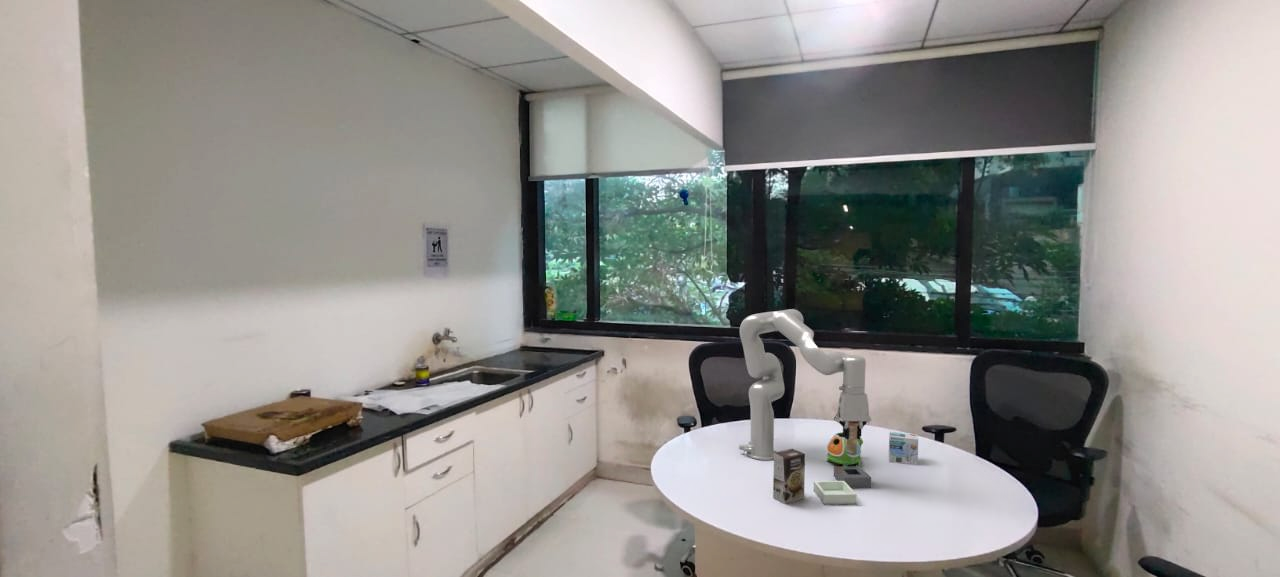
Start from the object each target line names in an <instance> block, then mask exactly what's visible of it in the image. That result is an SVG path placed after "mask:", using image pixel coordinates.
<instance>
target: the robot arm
mask: <svg viewBox="0 0 1280 577" xmlns="http://www.w3.org/2000/svg"><path fill="white" fill-rule="evenodd" d="M771 332H779V333H780V334H782V335H783V336H784V337H786V338H787V339H788V340H789V341H790V342H791V343H793V344H794V345H795V346H796V347H797V348H798V350H799V352H800V354H801V356H802V357H803V359H804V360H805V361H806V363H808V364H809V365H810V366H811V367H812V368H813V369H815V371H817V372H818V373H819V374H822V375H824V376H831V375H834V374H837V373H843V374H842V383H841V386H839V387H838V390H839V391H841V392H840V395H839V399H838V404H837V413H836V414H835V416H834V417H833V420H834V422H836V423H837V424H839V425H840V426H841V427H842V432H843V436H844V437H845V438H846V439H849V429H848V423H849V422H859V425H858V428H857V439H860V437H862V429H864V427H865V426H866V425H867V423H870V422H872V418H871V416H870V408H869V407H870V406H869V399H868V394H867V393H865V392H866V391H865V390H866V388H865V386H866V366H867V365H866V364H867V363H866V358H864V357H863V356H861V355H851V354H847V353H844V352H840V351H834V352H831V353H826V352H825V351H823V350H821V349H820V348H819V347H818V345H816V343H815V341H814V337H815V336H814V335H815V332H814V331H813V329H812V328H810V327H809V326H807V325H806V324H805V323H804V316H803V314H802V313H801V311H799V310H797V309H795V308H792V309H791V308H789V309H783V310H776V311H775V310H774V311H766V312H760V313H755V314H751V315H748V316H747V317H744V319H743V320H742V322H741V324H740V327H739V337H740V341H741V345H742V349H743V354H744V355H743V356H744V359H745V364H746V369H747V372H748V375H749V376H750V377H751V378H754V379H761V378H762V380H759V381H756V382H754V383H752V385H751V386H750V387H749V390H748V399H749V400H748V401H749V406H750V407H749V408H750V441H749V442H748V443H747V444H746V445H745V444H739V446H738V447H739V448H738V450H740V451H741V450H742V451H743V452H746V455H747V456H748V458H751V459H753V460H757V461H758V460H759V461H771V460H774V453H775V452H777V450H775V449H774V446H775V444H774V440H775V438H774V437H775V436H774V435H775V433H774V432H775V419H774V418H775V413H774V409H773V408H774V407H773V406H772V403H773V402H774V401H776V400H779V399H781V398H783V396H784V394H785V383H784V376H783V374H782V373H783V372H782V366H781V364H780V361H779V359H778V357H777V356H776V355H775V354H773V353H771V352H766V351H765V348H764V347H765V345H764V343H763V340H762V339H761V337H760V335H762V334H766V333H771Z"/></svg>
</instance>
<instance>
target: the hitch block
mask: <svg viewBox="0 0 1280 577" xmlns="http://www.w3.org/2000/svg"><path fill="white" fill-rule="evenodd" d="M834 477H835V478H834ZM833 478H834V480H835V481H845V482H846V483H847V484H848V486H849V487H850V488H851V489H872V476H871V475H869V474H868V472H867V471H865V470H864V468H862V467H861V465H860V466H857V465H855V466H854V465H853V466H847V467H842V466H833Z"/></svg>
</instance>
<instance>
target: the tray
mask: <svg viewBox="0 0 1280 577" xmlns="http://www.w3.org/2000/svg"><path fill="white" fill-rule="evenodd" d="M813 492H814V493H815V495H816V494H817V495H816V496H817V497H818V499H819V498H820V499H819V500H820V501H821V503H822V502H823V503H822V504H823V505H824V506H826V504H848V505H857V498H858V497H857V493H856V492H855V491H854V490H853V488H850V487H849V486H848V484H847V483H846V482H845V481H837V480H814V481H813Z"/></svg>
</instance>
